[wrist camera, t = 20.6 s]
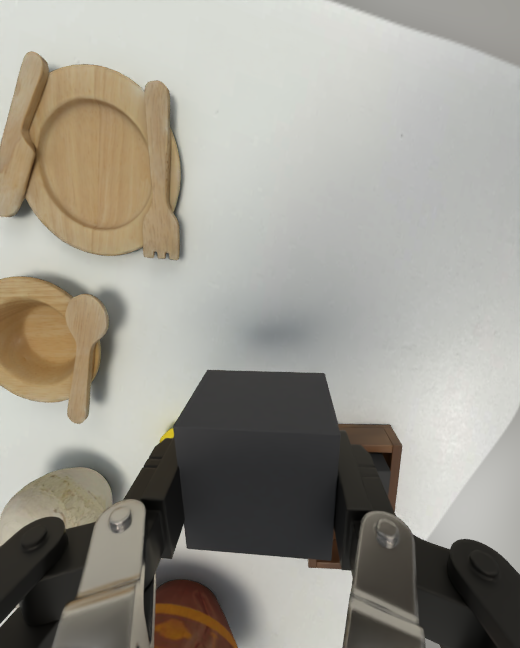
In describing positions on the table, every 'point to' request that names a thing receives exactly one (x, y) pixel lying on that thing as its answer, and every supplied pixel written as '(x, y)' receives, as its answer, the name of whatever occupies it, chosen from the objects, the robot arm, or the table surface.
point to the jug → (189, 617)
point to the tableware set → (80, 212)
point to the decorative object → (57, 500)
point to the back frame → (372, 441)
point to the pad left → (259, 464)
